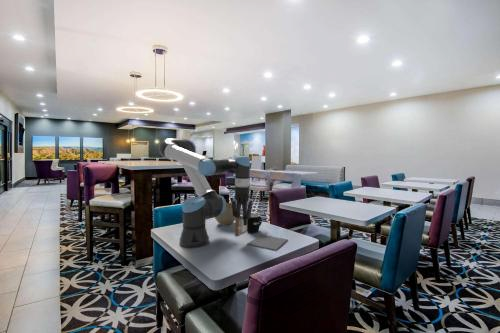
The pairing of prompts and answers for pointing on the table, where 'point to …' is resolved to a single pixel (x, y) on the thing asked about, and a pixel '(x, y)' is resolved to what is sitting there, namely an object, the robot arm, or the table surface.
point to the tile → (239, 226)
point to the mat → (267, 242)
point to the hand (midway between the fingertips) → (241, 230)
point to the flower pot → (226, 216)
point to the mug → (253, 223)
